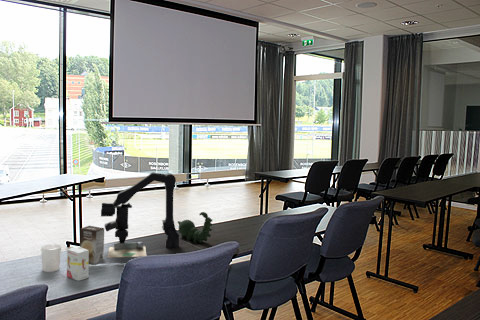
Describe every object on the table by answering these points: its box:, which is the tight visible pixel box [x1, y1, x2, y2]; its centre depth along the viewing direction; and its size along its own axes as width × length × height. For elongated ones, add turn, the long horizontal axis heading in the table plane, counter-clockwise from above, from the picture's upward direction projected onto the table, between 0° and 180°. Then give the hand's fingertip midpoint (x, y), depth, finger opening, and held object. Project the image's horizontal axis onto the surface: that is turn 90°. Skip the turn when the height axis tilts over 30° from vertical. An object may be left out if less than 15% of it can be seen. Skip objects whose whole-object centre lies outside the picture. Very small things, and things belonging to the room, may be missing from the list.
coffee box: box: [79, 225, 105, 266], centre depth 189 cm, size 9×6×16 cm
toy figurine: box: [177, 211, 213, 243], centre depth 232 cm, size 9×19×25 cm
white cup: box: [40, 243, 62, 273], centre depth 177 cm, size 8×8×10 cm
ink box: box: [66, 246, 90, 281], centre depth 170 cm, size 9×5×12 cm, turn 55°
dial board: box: [107, 245, 147, 259], centre depth 204 cm, size 18×17×1 cm
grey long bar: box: [113, 241, 144, 249], centre depth 208 cm, size 14×4×3 cm, turn 105°
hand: (121, 246), depth 209 cm, fingers closed
